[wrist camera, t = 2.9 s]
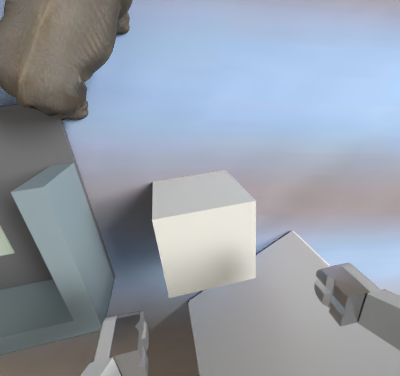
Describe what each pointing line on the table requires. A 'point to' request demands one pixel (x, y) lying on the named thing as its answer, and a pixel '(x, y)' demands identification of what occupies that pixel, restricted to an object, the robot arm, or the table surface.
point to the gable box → (282, 324)
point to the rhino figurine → (57, 50)
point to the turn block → (204, 231)
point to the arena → (46, 237)
